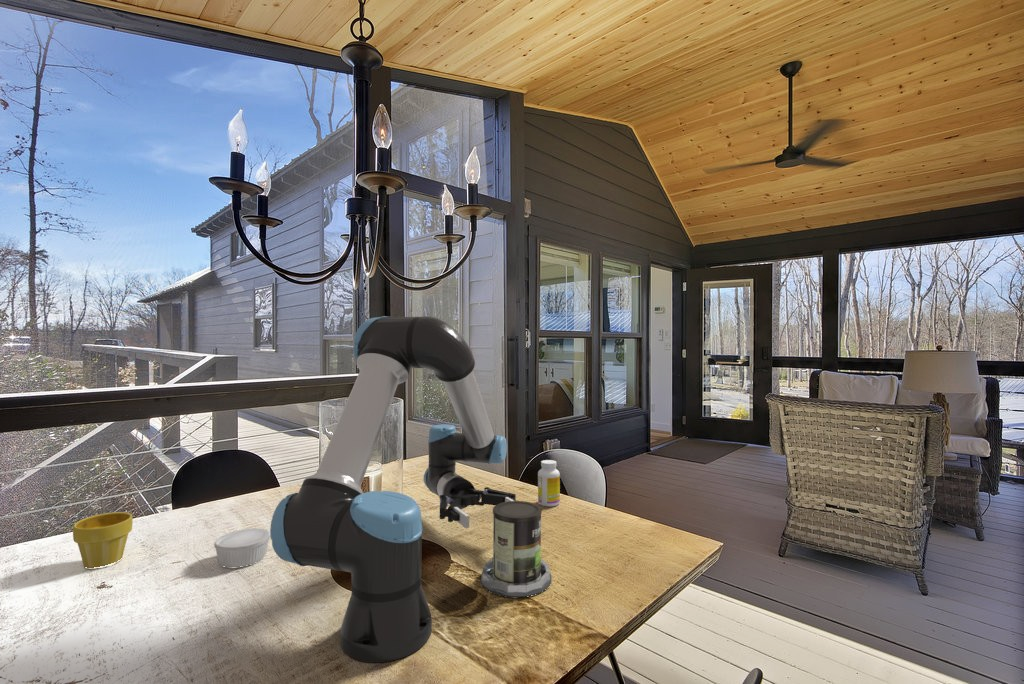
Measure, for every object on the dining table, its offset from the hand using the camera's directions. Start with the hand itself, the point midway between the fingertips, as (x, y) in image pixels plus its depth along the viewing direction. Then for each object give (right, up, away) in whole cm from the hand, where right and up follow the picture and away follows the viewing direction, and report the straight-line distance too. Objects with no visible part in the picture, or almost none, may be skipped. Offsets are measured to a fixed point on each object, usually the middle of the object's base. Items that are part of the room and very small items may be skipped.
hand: (494, 516), depth 112 cm
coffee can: (+5, -10, -8) cm, 13 cm away
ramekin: (-58, -11, +1) cm, 59 cm away
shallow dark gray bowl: (+5, -10, -8) cm, 14 cm away
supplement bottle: (+15, -10, +39) cm, 43 cm away
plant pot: (-88, -10, -1) cm, 89 cm away
